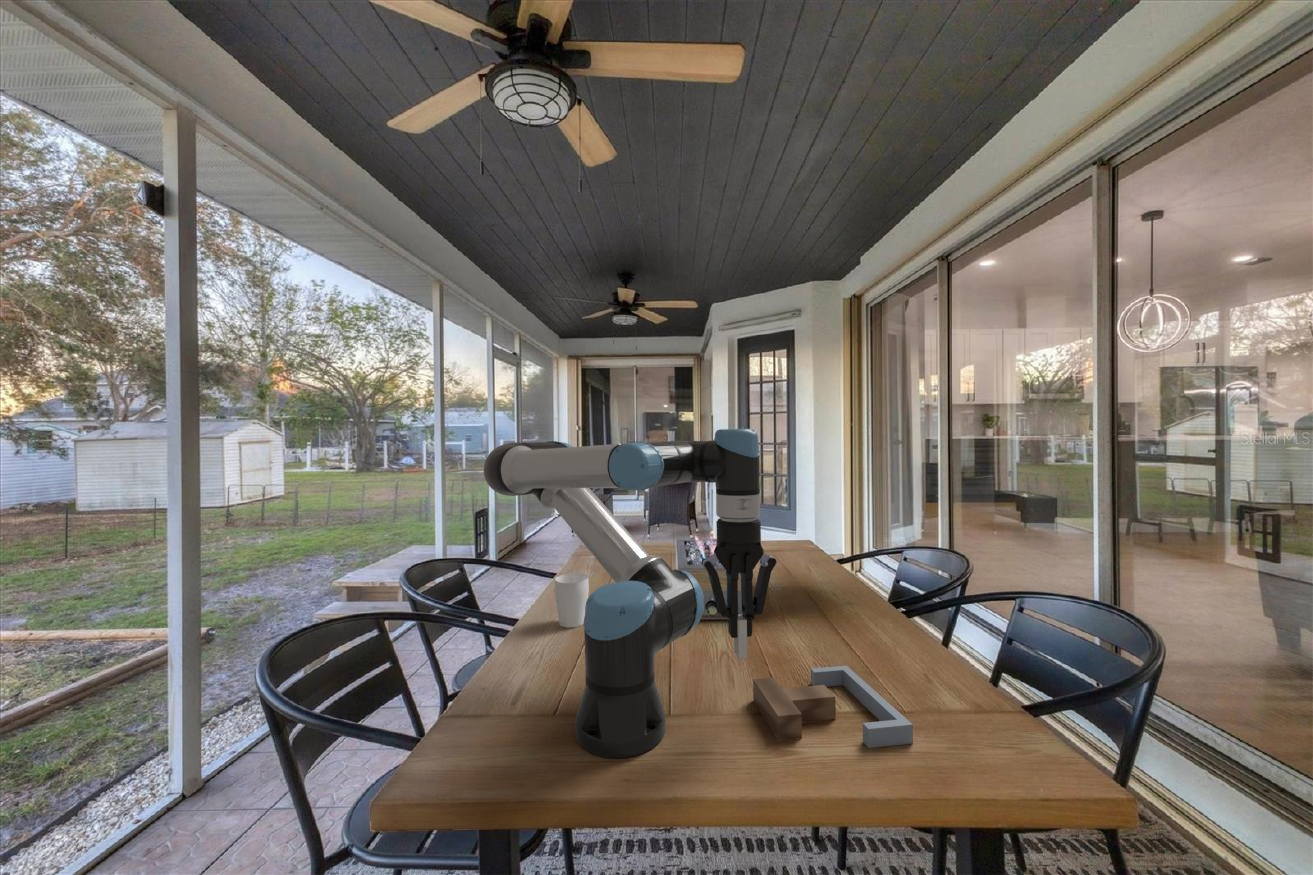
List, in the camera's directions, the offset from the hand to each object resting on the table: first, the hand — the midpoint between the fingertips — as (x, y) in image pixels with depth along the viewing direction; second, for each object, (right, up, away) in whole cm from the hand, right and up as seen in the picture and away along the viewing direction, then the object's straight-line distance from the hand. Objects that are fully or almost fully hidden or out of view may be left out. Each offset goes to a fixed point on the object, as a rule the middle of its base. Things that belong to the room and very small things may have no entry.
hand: (740, 655), depth 83 cm
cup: (-37, -12, +45) cm, 60 cm away
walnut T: (+10, -11, +2) cm, 15 cm away
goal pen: (+21, -11, +3) cm, 24 cm away
